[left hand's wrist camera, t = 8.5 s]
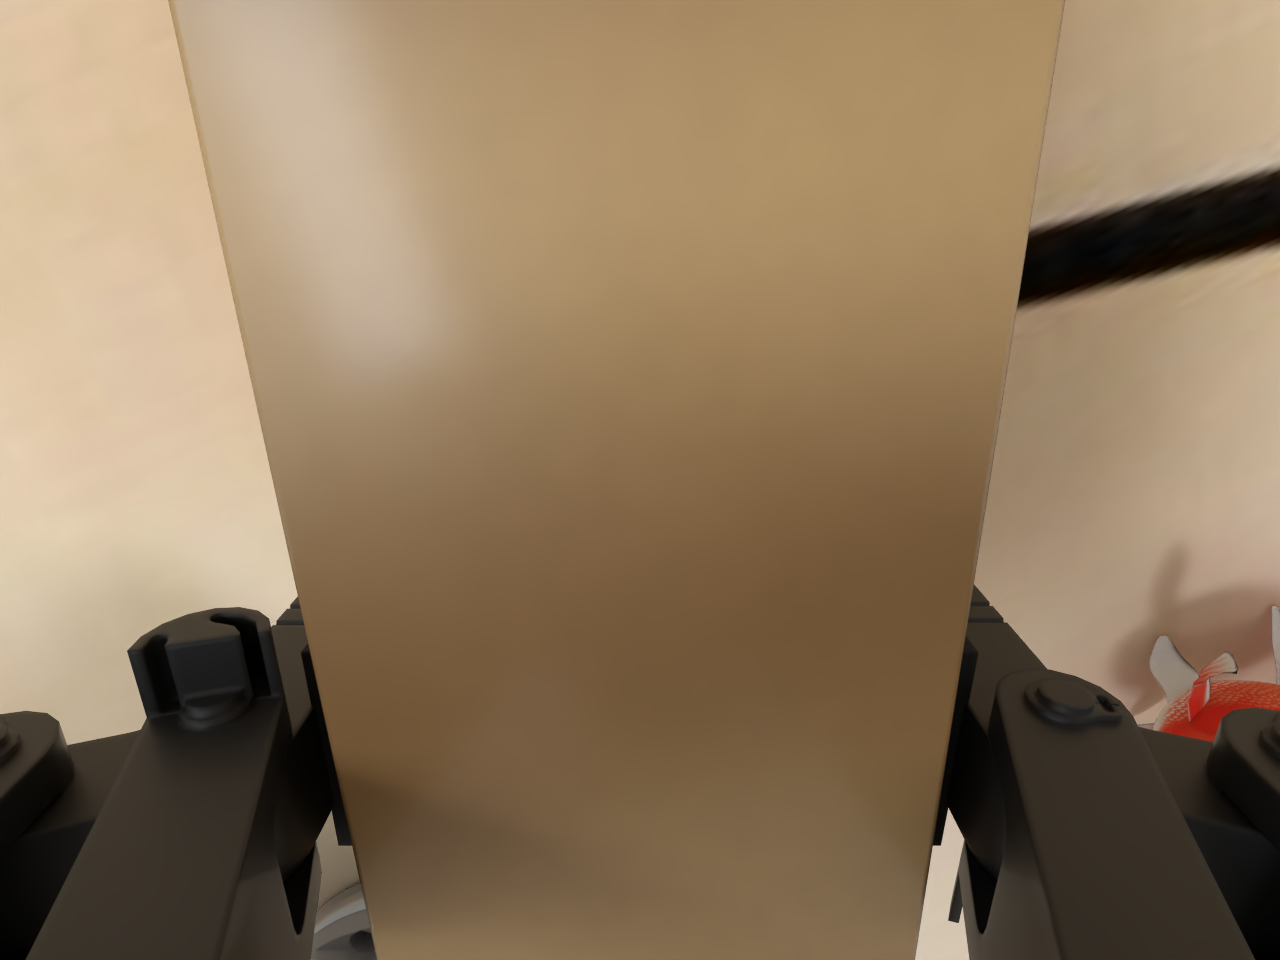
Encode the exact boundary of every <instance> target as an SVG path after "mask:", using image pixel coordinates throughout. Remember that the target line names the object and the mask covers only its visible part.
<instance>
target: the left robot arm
mask: <svg viewBox="0 0 1280 960" xmlns="http://www.w3.org/2000/svg"><path fill="white" fill-rule="evenodd" d="M290 606H291V607H290V609H287V610H286V611H285V612H284V613H283V614H282V615H281V617H280V618H279V619H278V620H277V624H276V625H273V626H272V627H271V625H270V621H269V618H267V617H266V616H265V615H263V614H262V613H261V612H259V611H257V610H251V609H246V608H241V607H234V608H215V609H210V610H206V611H201V612H196V613H192V614H188V615H185V616H182V617H180V618H177V619H174V620H172V621H169V622H166V623H164V624H162V625H160V626H158V627H157V628H155V629H153V630H152V631H150V632H148V633H147V634H145V635H143V636H141V637H140V638H139V639H138V640H137V641H136V642H135V643H134V644H133V646H132V647H131V648H130V649H129V650H128V651H127V652H128V655H129V659H130V662H131V665H132V669H133V672H134V676H135V679H136V682H137V686H138V689H139V692H140V696H141V699H142V703H143V706H144V709H145V713H146V716H147V719H146V721H145V723H144V725H143V727H142V729H141V730H138V731H135V732H131V733H126V734H121V735H116V736H111V737H106V738H101V739H96V740H91V741H87V742H82V743H77V744H72V745H67V744H66V741H65V738H64V735H63V732H62V729H61V726H60V724H59V721H57V720H56V719H54V718H53V717H52V716H50V715H49V714H48V713H40V712H31V711H22V712H15V713H8V714H0V960H377V957H376V952H375V947H374V943H373V938H372V934H371V929H370V924H369V920H368V915H367V911H366V906H365V901H364V897H363V892H362V888H361V883H358V884H356V885H354V886H352V887H350V888H348V889H346V890H344V891H343V892H341V893H339V894H338V895H336V896H335V897H333V898H332V899H331V900H329V901H328V902H327V903H325V904H324V905H323V906H322V907H321V908H320V909H319V910H318V911H317V905H318V898H319V890H320V882H321V874H322V872H321V865H320V858H319V853H318V848H317V844H316V840H317V838H318V836H319V834H320V832H321V830H322V828H323V826H324V824H325V822H326V820H327V818H328V816H329V814H330V812H331V810H332V814H333V819H334V824H335V829H336V835H337V840H338V845H339V846H352V842H351V837H350V832H349V828H348V823H347V819H346V814H345V809H344V805H343V800H342V796H341V791H340V787H339V782H338V777H337V773H336V768H335V764H334V759H333V754H332V750H331V745H330V741H329V736H328V731H327V727H326V722H325V718H324V713H323V708H322V704H321V699H320V695H319V690H318V685H317V681H316V676H315V672H314V667H313V662H312V658H311V653H310V649H309V644H308V639H307V635H306V630H305V626H304V621H303V617H302V612H301V607H300V603H299V598H298V597H297V598H296V599H295V600H294V601H293V603H292V604H291V605H290ZM948 807H949V809H950V811H951V813H952V815H953V817H954V819H955V821H956V823H957V825H958V827H959V829H960V831H961V833H962V835H963V837H964V844H963V848H962V853H961V858H960V863H959V867H958V872H957V877H956V881H955V886H954V891H953V896H952V900H951V906H950V912H949V919H948V921H952V922H956V923H959V919H960V914H961V910H962V907H963V911H964V919H965V927H966V935H967V943H968V951H969V959H970V960H1280V711H1277V710H1269V709H1262V708H1255V707H1254V708H1245V709H1236V710H1232V711H1231V712H1229V713H1228V714H1227V715H1225V716H1224V717H1222V718H1221V721H1220V724H1219V727H1218V730H1217V733H1216V736H1215V738H1214V741H1213V742H1210V741H1205V740H1200V739H1195V738H1190V737H1185V736H1180V735H1175V734H1170V733H1165V732H1160V731H1155V730H1150V729H1146V728H1143V727H1139V726H1138V725H1137V723H1136V721H1135V719H1134V717H1133V716H1132V715H1131V714H1130V712H1129V711H1128V710H1127V709H1126V707H1125V706H1124V705H1123V704H1122V702H1121V701H1120V700H1118V699H1117V698H1115V697H1114V696H1112V695H1111V694H1109V693H1108V692H1107V691H1105V690H1104V689H1102V688H1101V687H1099V686H1097V685H1094V684H1092V683H1090V682H1088V681H1085V680H1083V679H1081V678H1079V677H1076V676H1073V675H1069V674H1065V673H1061V672H1057V671H1053V670H1048V669H1047V668H1046V667H1045V666H1044V665H1043V664H1042V662H1041V661H1040V660H1039V659H1038V658H1037V657H1036V656H1035V654H1034V653H1033V652H1032V651H1031V650H1030V649H1029V647H1028V646H1027V645H1026V644H1025V643H1024V642H1023V641H1022V639H1021V638H1020V637H1019V636H1018V635H1017V634H1016V632H1015V631H1014V630H1013V629H1012V628H1011V627H1010V626H1009V624H1008V623H1004V622H1003V617H1002V616H1001V615H1000V614H999V613H998V612H997V611H996V609H995V608H994V607H993V606H990V605H989V601H988V600H987V599H986V598H985V597H984V596H983V594H982V593H981V592H980V591H979V590H978V589H977V587H976V586H975V585H973V591H972V597H971V604H970V610H969V616H968V623H967V629H966V636H965V642H964V648H963V655H962V661H961V668H960V674H959V680H958V687H957V693H956V699H955V706H954V712H953V719H952V725H951V731H950V738H949V744H948V751H947V757H946V763H945V770H944V776H943V783H942V789H941V795H940V802H939V808H938V814H937V821H936V827H935V834H934V840H933V845H941V842H942V837H943V832H944V826H945V821H946V816H947V811H948Z"/></svg>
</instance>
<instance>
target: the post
mask: <svg viewBox="0 0 1280 960" xmlns="http://www.w3.org/2000/svg"><path fill="white" fill-rule="evenodd" d="M168 1H169V5H170V10H171V15H172V19H173V24H174V28H175V33H176V38H177V42H178V47H179V51H180V56H181V61H182V65H183V70H184V74H185V79H186V84H187V88H188V93H189V97H190V102H191V106H192V111H193V116H194V120H195V125H196V129H197V134H198V139H199V143H200V148H201V152H202V157H203V162H204V166H205V171H206V175H207V180H208V185H209V189H210V194H211V198H212V203H213V208H214V212H215V217H216V221H217V226H218V231H219V235H220V240H221V244H222V249H223V254H224V258H225V263H226V267H227V272H228V277H229V281H230V286H231V290H232V295H233V299H234V304H235V309H236V313H237V318H238V322H239V327H240V332H241V336H242V341H243V345H244V350H245V355H246V359H247V364H248V368H249V373H250V378H251V382H252V387H253V391H254V396H255V401H256V405H257V410H258V414H259V419H260V424H261V428H262V433H263V437H264V442H265V447H266V451H267V456H268V460H269V465H270V469H271V474H272V479H273V483H274V488H275V492H276V497H277V502H278V506H279V511H280V515H281V520H282V525H283V529H284V534H285V538H286V543H287V548H288V552H289V557H290V561H291V566H292V571H293V575H294V580H295V584H296V589H297V594H298V598H299V603H300V607H301V612H302V617H303V621H304V626H305V630H306V635H307V639H308V644H309V649H310V653H311V658H312V662H313V667H314V672H315V676H316V681H317V685H318V690H319V695H320V699H321V704H322V708H323V713H324V718H325V722H326V727H327V731H328V736H329V741H330V745H331V750H332V754H333V759H334V764H335V768H336V773H337V777H338V782H339V787H340V791H341V796H342V800H343V805H344V809H345V814H346V819H347V823H348V828H349V832H350V837H351V842H352V846H353V851H354V855H355V860H356V865H357V869H358V874H359V878H360V883H361V888H362V892H363V897H364V901H365V906H366V911H367V915H368V920H369V924H370V929H371V934H372V938H373V943H374V947H375V952H376V957H377V960H915V955H916V949H917V942H918V936H919V929H920V923H921V917H922V910H923V904H924V898H925V891H926V885H927V878H928V872H929V866H930V859H931V853H932V846H933V840H934V834H935V827H936V821H937V814H938V808H939V802H940V795H941V789H942V783H943V776H944V770H945V763H946V757H947V751H948V744H949V738H950V731H951V725H952V719H953V712H954V706H955V699H956V693H957V687H958V680H959V674H960V668H961V661H962V655H963V648H964V642H965V636H966V629H967V623H968V616H969V610H970V604H971V597H972V591H973V585H974V578H975V572H976V565H977V559H978V553H979V546H980V540H981V533H982V527H983V521H984V514H985V508H986V501H987V495H988V489H989V482H990V476H991V470H992V463H993V457H994V450H995V444H996V438H997V431H998V425H999V418H1000V412H1001V406H1002V399H1003V393H1004V386H1005V380H1006V374H1007V367H1008V361H1009V355H1010V348H1011V342H1012V335H1013V329H1014V323H1015V316H1016V310H1017V303H1018V297H1019V291H1020V284H1021V278H1022V271H1023V265H1024V259H1025V252H1026V246H1027V240H1028V233H1029V227H1030V220H1031V214H1032V208H1033V201H1034V195H1035V188H1036V182H1037V176H1038V169H1039V163H1040V156H1041V150H1042V144H1043V137H1044V131H1045V125H1046V118H1047V112H1048V105H1049V99H1050V93H1051V86H1052V80H1053V73H1054V67H1055V61H1056V54H1057V48H1058V41H1059V35H1060V29H1061V22H1062V16H1063V10H1064V3H1065V0H168Z"/></svg>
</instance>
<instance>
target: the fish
mask: <svg viewBox="0 0 1280 960" xmlns="http://www.w3.org/2000/svg"><path fill="white" fill-rule="evenodd" d="M1272 645H1273V651H1274V657H1275V662H1276V668H1277V682H1276V684H1271V683H1265V682H1256V681H1237V680H1221V681H1211V682H1210V678H1211V677H1213V676H1216V675H1219V674H1221V673H1234V674H1237V671H1238V666H1237V664H1236V662H1235V660H1234V658H1233V656H1232V655H1231V654H1230V653H1229V652H1224V653H1223V654H1222V655H1221V656H1219V657H1218V658H1217V659H1216V660H1214V661H1213V662H1211V663H1210V664H1209V665H1208V666H1206V667H1205V668H1204V669H1203V670H1202V671H1201V674H1200V677H1199V676H1198V673H1197V671H1196V670H1195V669H1194V668H1193V667H1192V666H1191V665H1190V664H1189V663H1188V662H1187V661H1186V660H1185V659H1184V658H1183V657H1182V656H1181V655H1180V653H1179V652H1178V650H1177V649H1176V647H1175V646H1174V644H1173V642H1172V640H1171V639H1170V637H1168V636H1160V637H1159V638H1158V639H1157V641H1156V643H1155V646H1154V648H1153V651H1152V654H1151V657H1150V669H1151V672H1152V674H1153V676H1154V677H1155V678H1156V680H1157V681H1158V682H1159V684H1160V685H1161V686H1162V688H1163V690H1164V691H1165V693H1166V697H1167V701H1168V704H1167V705H1166V706H1165V707H1164V708H1163V710H1162V711H1161V712H1160V713H1159V715H1158V717H1157V719H1156V721H1155V723H1152V724H1142V725H1138V726H1139V727H1143V728H1146V729H1150V730H1155V731H1160V732H1165V733H1170V734H1175V735H1180V736H1185V737H1190V738H1195V739H1200V740H1205V741H1210V742H1213V741H1214V738H1215V736H1216V733H1217V730H1218V727H1219V724H1220V721H1221V718H1222V717H1224V716H1225V715H1227V714H1228V713H1229V712H1231V711H1232V710H1236V709H1245V708H1254V707H1255V708H1262V709H1269V710H1277V711H1280V609H1279V608H1278V607H1276V606H1272Z"/></svg>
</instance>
